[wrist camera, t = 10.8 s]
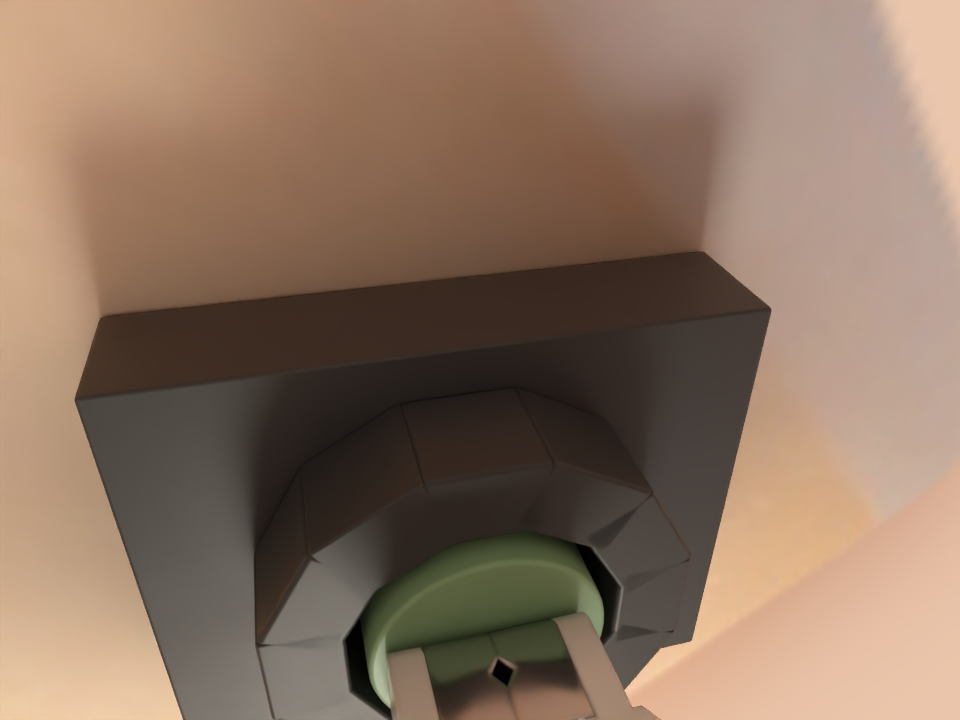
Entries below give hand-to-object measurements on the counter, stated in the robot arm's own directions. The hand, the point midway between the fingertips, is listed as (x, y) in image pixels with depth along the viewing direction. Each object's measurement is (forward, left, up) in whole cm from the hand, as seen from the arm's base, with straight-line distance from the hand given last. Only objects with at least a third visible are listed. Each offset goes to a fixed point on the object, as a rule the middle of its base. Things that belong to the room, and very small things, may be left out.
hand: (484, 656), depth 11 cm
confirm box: (0, 0, -4) cm, 4 cm away
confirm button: (0, 0, -2) cm, 2 cm away
